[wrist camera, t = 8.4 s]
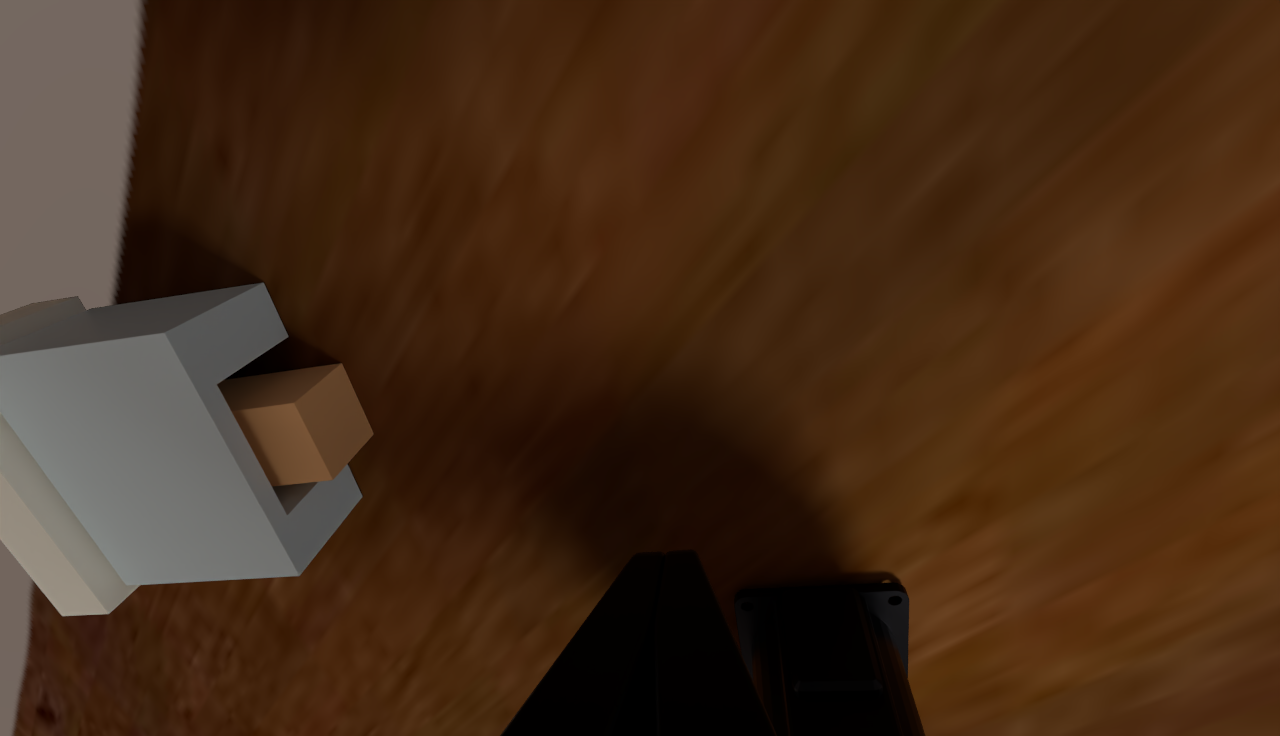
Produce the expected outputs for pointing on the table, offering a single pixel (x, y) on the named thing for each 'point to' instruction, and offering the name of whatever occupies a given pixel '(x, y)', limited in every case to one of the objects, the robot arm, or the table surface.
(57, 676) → the table surface
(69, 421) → the sled
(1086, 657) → the table surface
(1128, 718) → the table surface
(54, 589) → the wall
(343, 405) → the tan rectangular brick
